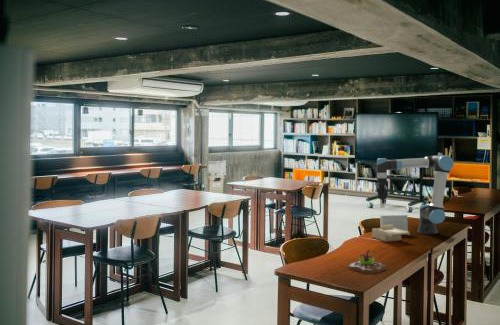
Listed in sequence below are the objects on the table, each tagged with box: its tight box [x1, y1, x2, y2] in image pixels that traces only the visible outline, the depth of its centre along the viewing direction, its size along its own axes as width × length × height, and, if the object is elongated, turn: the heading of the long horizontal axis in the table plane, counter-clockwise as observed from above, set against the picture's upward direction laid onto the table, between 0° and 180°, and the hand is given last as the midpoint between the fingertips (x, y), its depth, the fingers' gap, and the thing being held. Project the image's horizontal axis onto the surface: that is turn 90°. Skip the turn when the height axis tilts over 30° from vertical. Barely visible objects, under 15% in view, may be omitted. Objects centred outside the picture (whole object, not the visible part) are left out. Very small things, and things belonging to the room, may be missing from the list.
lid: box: [378, 225, 410, 237], centre depth 347 cm, size 16×18×5 cm
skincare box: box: [379, 214, 409, 236], centre depth 373 cm, size 21×6×16 cm, turn 84°
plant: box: [348, 249, 387, 274], centre depth 275 cm, size 20×20×11 cm
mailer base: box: [371, 227, 402, 243], centre depth 356 cm, size 14×18×7 cm
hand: (382, 207), depth 360 cm, fingers closed
